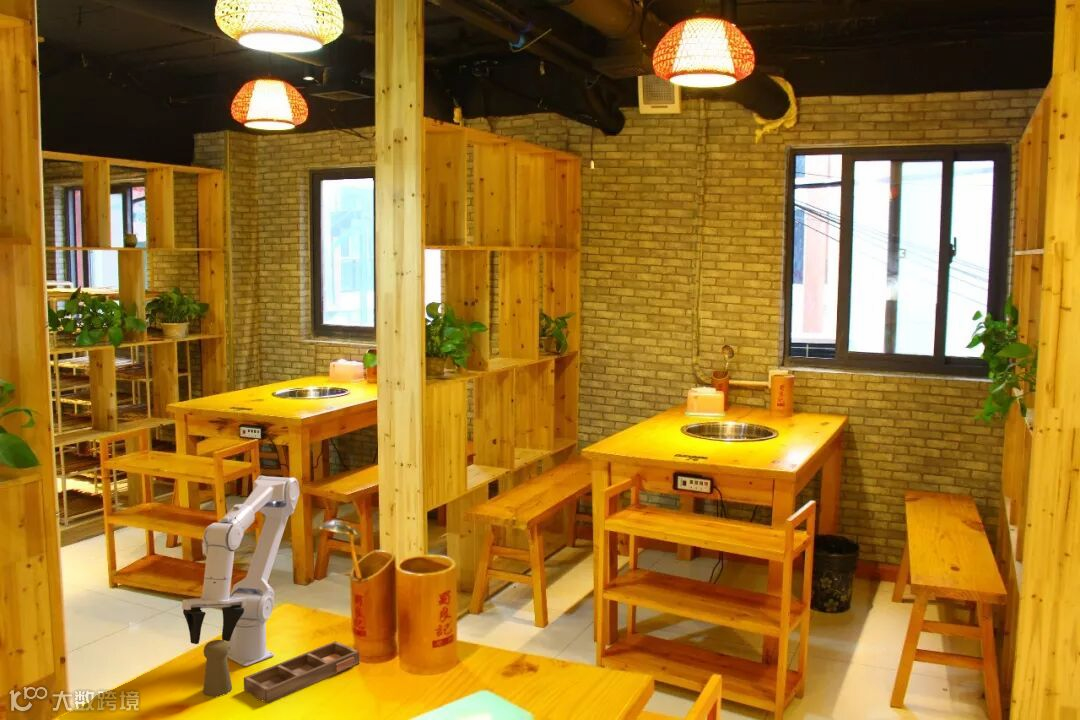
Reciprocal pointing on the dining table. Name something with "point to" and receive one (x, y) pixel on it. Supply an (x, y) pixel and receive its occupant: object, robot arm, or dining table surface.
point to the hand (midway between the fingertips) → (210, 641)
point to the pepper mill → (216, 669)
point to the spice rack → (300, 671)
